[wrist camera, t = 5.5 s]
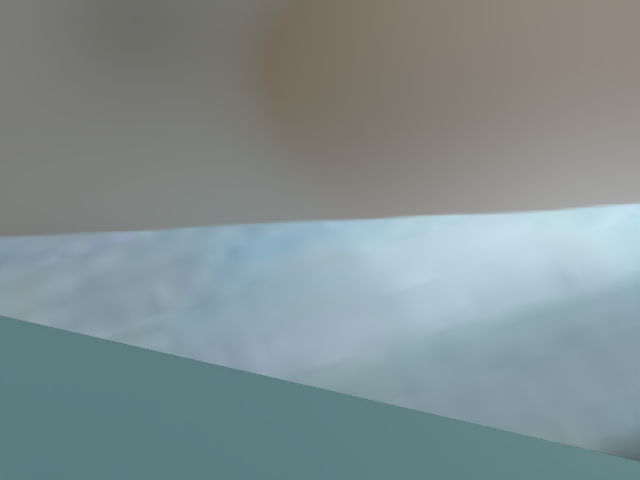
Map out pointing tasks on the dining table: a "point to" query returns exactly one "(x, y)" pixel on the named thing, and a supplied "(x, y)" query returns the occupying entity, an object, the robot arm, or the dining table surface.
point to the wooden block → (234, 424)
